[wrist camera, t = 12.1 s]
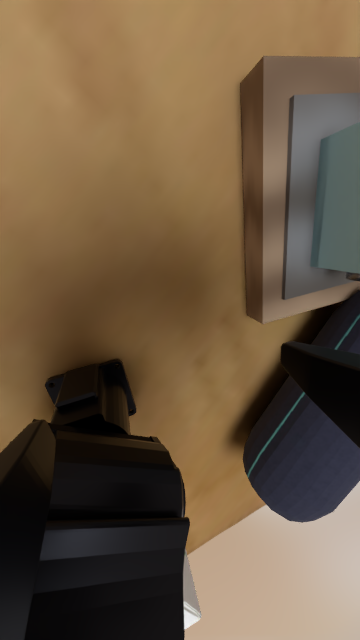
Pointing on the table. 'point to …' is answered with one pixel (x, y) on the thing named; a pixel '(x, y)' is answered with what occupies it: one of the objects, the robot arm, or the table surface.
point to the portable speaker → (306, 439)
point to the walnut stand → (290, 178)
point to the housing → (338, 204)
